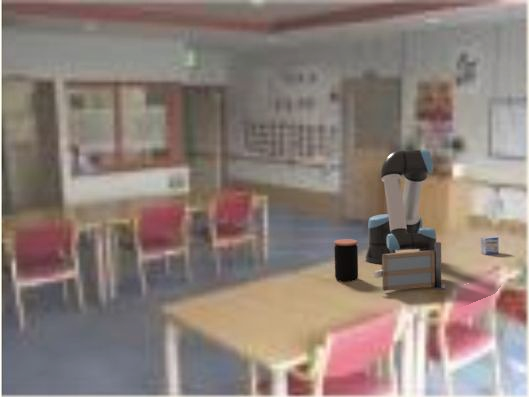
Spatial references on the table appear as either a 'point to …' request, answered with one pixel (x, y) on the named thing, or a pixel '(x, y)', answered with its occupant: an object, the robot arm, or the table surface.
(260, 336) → the table surface
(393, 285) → the gate leaf
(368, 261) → the robot arm
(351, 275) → the coffee jar
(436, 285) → the hinge post
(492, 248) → the medicine box
